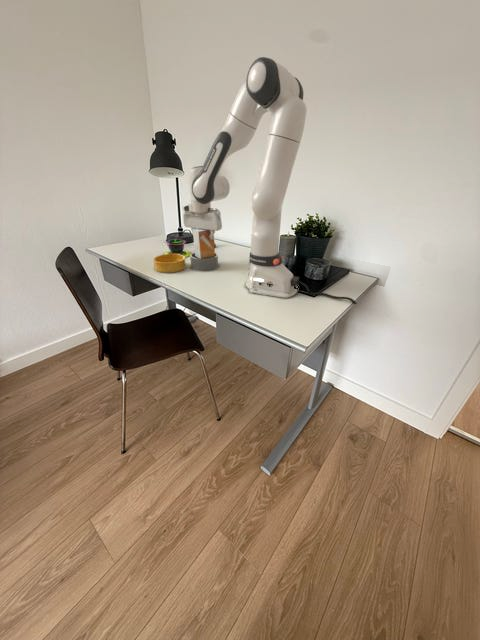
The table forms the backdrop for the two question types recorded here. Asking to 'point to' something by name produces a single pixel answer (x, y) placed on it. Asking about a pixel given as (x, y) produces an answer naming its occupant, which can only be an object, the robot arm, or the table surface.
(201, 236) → the small box
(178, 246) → the toy cauldron
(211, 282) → the table surface
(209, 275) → the table surface
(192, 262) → the pot
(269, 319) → the table surface
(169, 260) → the bowl
